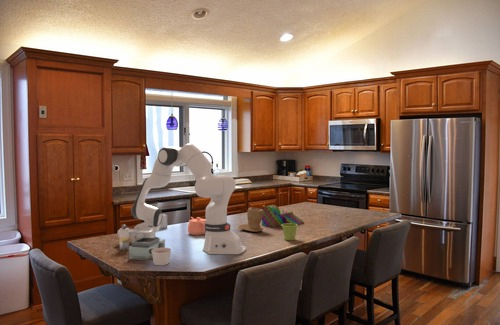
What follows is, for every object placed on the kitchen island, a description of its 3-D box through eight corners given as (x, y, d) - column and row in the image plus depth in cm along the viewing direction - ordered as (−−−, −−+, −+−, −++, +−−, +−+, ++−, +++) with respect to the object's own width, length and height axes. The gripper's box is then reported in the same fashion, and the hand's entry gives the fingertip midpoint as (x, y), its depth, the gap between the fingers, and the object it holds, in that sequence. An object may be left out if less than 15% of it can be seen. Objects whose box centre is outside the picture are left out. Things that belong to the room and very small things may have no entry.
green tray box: (166, 250, 207) (165, 236, 206) (149, 260, 189) (148, 244, 189) (147, 249, 209) (147, 235, 209) (129, 259, 192) (129, 243, 192)
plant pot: (278, 239, 230) (278, 224, 230) (289, 237, 236) (289, 222, 236) (289, 242, 223) (289, 227, 223) (301, 239, 229) (301, 224, 229)
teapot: (196, 237, 236) (195, 220, 236) (183, 232, 251) (183, 216, 251) (213, 235, 243) (212, 218, 242) (199, 230, 258) (199, 214, 257)
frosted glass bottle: (131, 248, 212) (130, 224, 212) (126, 250, 207) (125, 226, 207) (123, 247, 213) (122, 223, 213) (117, 250, 209) (117, 225, 208)
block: (280, 229, 260) (280, 207, 260) (261, 225, 272) (261, 205, 272) (304, 223, 278) (304, 203, 277) (285, 220, 290) (285, 201, 289)
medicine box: (163, 226, 270) (163, 214, 270) (167, 227, 267) (167, 214, 267) (153, 228, 264) (153, 215, 263) (158, 229, 261) (157, 216, 261)
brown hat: (267, 231, 254) (267, 207, 253) (254, 234, 245) (254, 209, 245) (250, 227, 264) (250, 205, 264) (237, 230, 256) (237, 207, 255)
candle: (167, 266, 179) (166, 252, 179) (148, 265, 181) (148, 252, 180) (174, 261, 188) (173, 247, 188) (156, 260, 190) (156, 247, 189)
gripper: (125, 225, 230) (111, 230, 216) (157, 226, 225) (145, 231, 211) (125, 235, 230) (111, 241, 217) (157, 237, 225) (145, 243, 211)
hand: (128, 236), depth 214 cm, fingers open, 8 cm apart
